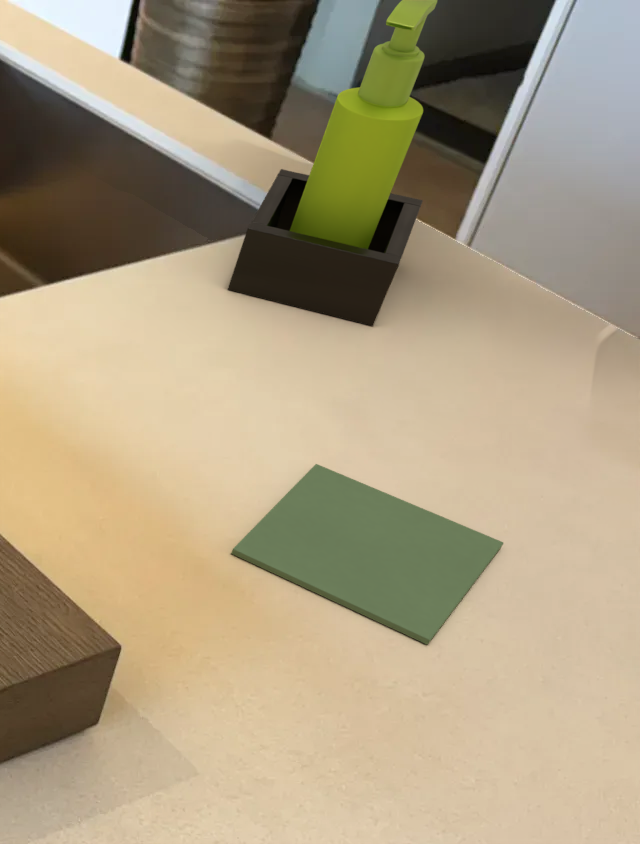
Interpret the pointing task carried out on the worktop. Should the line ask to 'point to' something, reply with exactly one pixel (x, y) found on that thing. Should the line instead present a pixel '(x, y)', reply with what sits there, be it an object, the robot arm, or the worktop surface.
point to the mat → (369, 552)
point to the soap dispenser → (366, 138)
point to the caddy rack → (320, 257)
